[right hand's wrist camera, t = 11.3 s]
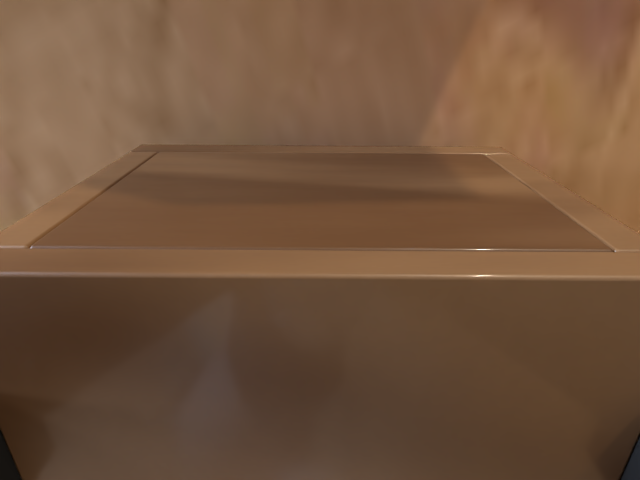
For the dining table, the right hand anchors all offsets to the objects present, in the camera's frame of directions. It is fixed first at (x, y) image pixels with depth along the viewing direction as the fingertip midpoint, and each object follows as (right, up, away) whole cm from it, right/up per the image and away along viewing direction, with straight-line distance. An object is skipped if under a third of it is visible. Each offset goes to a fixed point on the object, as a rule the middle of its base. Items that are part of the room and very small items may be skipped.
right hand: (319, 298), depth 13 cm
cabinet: (0, -5, +5) cm, 7 cm away
